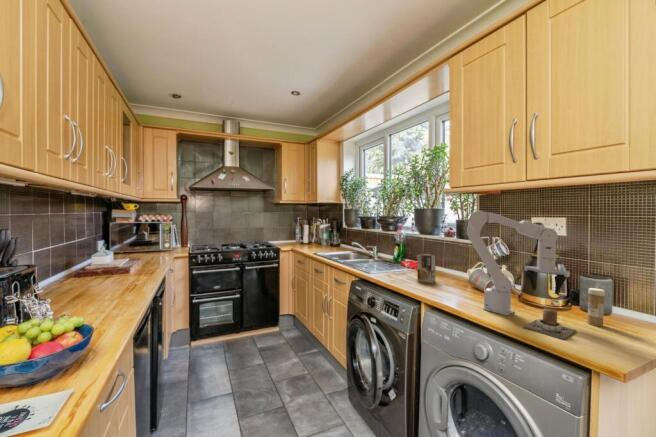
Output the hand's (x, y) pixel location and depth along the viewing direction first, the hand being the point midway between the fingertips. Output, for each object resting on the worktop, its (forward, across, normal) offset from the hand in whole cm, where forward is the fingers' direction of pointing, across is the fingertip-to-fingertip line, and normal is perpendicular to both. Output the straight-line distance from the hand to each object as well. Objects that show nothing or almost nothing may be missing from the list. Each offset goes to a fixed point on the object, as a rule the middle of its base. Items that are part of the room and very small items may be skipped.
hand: (545, 291), depth 115 cm
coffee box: (+10, +64, -12) cm, 66 cm away
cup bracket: (+10, -6, +14) cm, 18 cm away
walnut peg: (+10, -6, +14) cm, 18 cm away
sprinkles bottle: (+11, -14, -8) cm, 19 cm away
